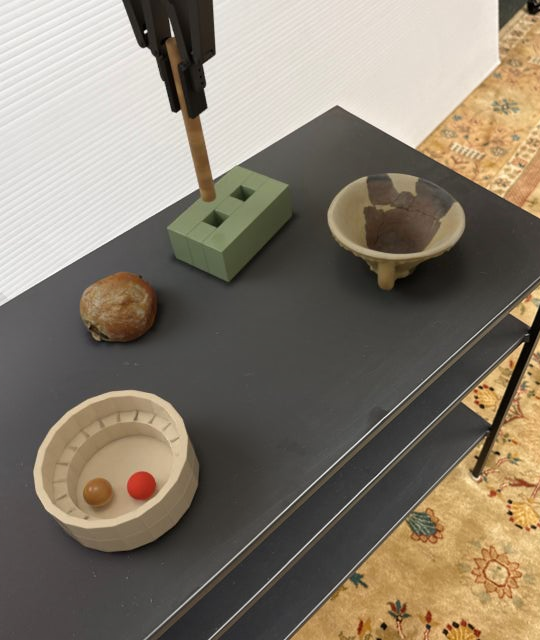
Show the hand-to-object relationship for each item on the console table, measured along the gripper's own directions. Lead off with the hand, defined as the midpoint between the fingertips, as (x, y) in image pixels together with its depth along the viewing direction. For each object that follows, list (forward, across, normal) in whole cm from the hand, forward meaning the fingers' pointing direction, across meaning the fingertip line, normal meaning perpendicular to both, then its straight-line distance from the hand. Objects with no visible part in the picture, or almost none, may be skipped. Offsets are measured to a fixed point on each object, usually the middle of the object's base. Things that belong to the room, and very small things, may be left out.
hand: (189, 109), depth 77 cm
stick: (+13, 0, 0) cm, 13 cm away
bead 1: (+21, -13, +38) cm, 45 cm away
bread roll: (+23, +4, +17) cm, 29 cm away
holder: (+23, 0, -3) cm, 23 cm away
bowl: (+23, -23, -10) cm, 34 cm away
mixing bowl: (+23, -14, +35) cm, 44 cm away
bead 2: (+21, -17, +35) cm, 44 cm away
